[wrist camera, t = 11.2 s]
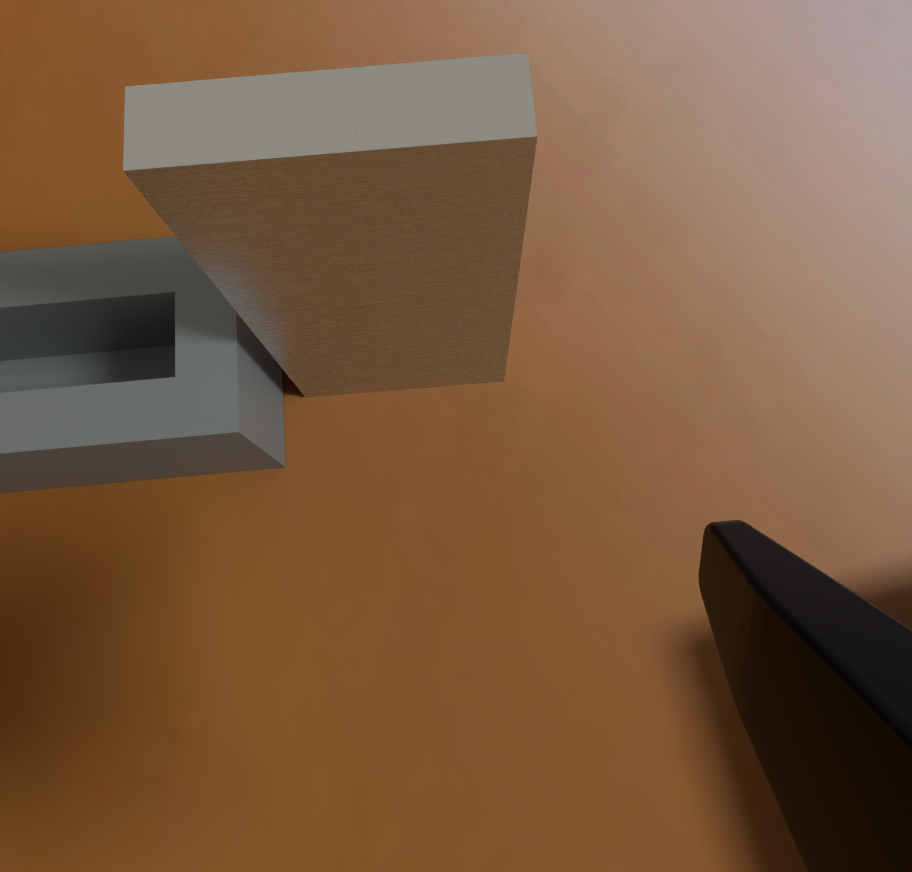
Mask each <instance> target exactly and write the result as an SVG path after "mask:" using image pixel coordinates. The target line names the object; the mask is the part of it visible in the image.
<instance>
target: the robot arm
mask: <svg viewBox="0 0 912 872" xmlns="http://www.w3.org/2000/svg"><path fill="white" fill-rule="evenodd" d="M699 586H700V591H701V595H702V599H703V602H704V605H705V608H706V612H707V615H708V618H709V622H710V625H711V628H712V631H713V635H714V638H715V641H716V644H717V648H718V651H719V654H720V658H721V661H722V664H723V667H724V671H725V674H726V677H727V681H728V684H729V687H730V690H731V693H732V696H733V699H734V702H735V705H736V708H737V710H738V713H739V715H740V718H741V720H742V723H743V725H744V728H745V730H746V732H747V734H748V737H749V739H750V741H751V744H752V746H753V748H754V750H755V753H756V755H757V757H758V760H759V762H760V764H761V767H762V769H763V771H764V773H765V776H766V778H767V780H768V783H769V785H770V787H771V789H772V792H773V794H774V796H775V799H776V801H777V803H778V805H779V808H780V810H781V812H782V815H783V817H784V819H785V821H786V824H787V826H788V828H789V831H790V833H791V835H792V838H793V840H794V842H795V844H796V847H797V849H798V851H799V854H800V856H801V858H802V860H803V863H804V865H805V867H806V870H807V872H912V629H910V628H909V627H907V626H906V625H904V624H902V623H901V622H899V621H898V620H896V619H895V618H893V617H892V616H890V615H888V614H887V613H885V612H884V611H882V610H881V609H879V608H878V607H876V606H875V605H873V604H871V603H870V602H868V601H867V600H865V599H864V598H862V597H861V596H859V595H857V594H856V593H854V592H853V591H851V590H850V589H848V588H847V587H845V586H843V585H842V584H840V583H839V582H837V581H836V580H834V579H833V578H831V577H829V576H828V575H826V574H825V573H823V572H822V571H820V570H819V569H817V568H816V567H814V566H812V565H811V564H809V563H808V562H806V561H805V560H803V559H802V558H800V557H798V556H797V555H795V554H794V553H792V552H791V551H789V550H788V549H786V548H784V547H783V546H781V545H780V544H778V543H777V542H775V541H774V540H772V539H770V538H769V537H767V536H766V535H764V534H763V533H761V532H760V531H758V530H757V529H755V528H753V527H752V526H750V525H749V524H747V523H745V522H743V521H740V520H732V521H721V522H712V523H710V524H708V525H707V526H706V528H705V530H704V535H703V543H702V551H701V559H700V568H699Z"/></svg>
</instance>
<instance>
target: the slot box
mask: <svg viewBox="0 0 912 872" xmlns="http://www.w3.org/2000/svg"><path fill="white" fill-rule="evenodd" d="M280 467H285V441H284V413H283V386H282V368H281V367H280V365H279V364H278V363H277V362H276V360H275V359H274V358H273V357H272V355H271V354H270V353H269V352H268V350H267V349H266V348H265V347H264V345H263V344H262V343H261V342H260V340H259V339H258V338H257V337H256V335H255V334H254V333H253V332H252V330H251V329H250V328H249V327H248V325H247V324H246V323H245V322H244V320H243V319H242V318H241V317H240V316H239V314H238V313H237V312H236V311H235V309H234V308H233V307H232V306H231V304H230V303H229V302H228V301H227V299H226V298H225V297H224V296H223V294H222V293H221V292H220V291H219V289H218V288H217V287H216V286H215V284H214V283H213V282H212V281H211V279H210V278H209V277H208V276H207V274H206V273H205V272H204V271H203V269H202V268H201V267H200V266H199V264H198V263H197V262H196V261H195V259H194V258H193V257H192V256H191V254H190V253H189V252H188V251H187V250H186V248H185V247H184V246H183V245H182V243H181V242H180V241H179V240H178V238H177V237H176V236H174V237H163V238H152V239H141V240H130V241H119V242H108V243H97V244H86V245H75V246H64V247H53V248H42V249H31V250H20V251H9V252H0V493H2V492H13V491H24V490H35V489H47V488H58V487H69V486H80V485H91V484H102V483H113V482H124V481H135V480H147V479H158V478H169V477H180V476H191V475H202V474H213V473H224V472H235V471H247V470H258V469H269V468H280Z"/></svg>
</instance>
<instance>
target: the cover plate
mask: <svg viewBox="0 0 912 872" xmlns="http://www.w3.org/2000/svg"><path fill="white" fill-rule="evenodd" d="M536 142H537V130H536V121H535V112H534V104H533V95H532V86H531V78H530V69H529V60H528V53H521V54H509V55H497V56H485V57H473V58H462V59H450V60H438V61H426V62H414V63H402V64H390V65H378V66H366V67H354V68H342V69H330V70H318V71H306V72H294V73H282V74H270V75H258V76H246V77H235V78H223V79H211V80H199V81H187V82H175V83H163V84H151V85H139V86H127V87H125V118H124V160H123V171H124V172H125V174H126V175H127V176H128V177H129V179H130V180H131V181H132V182H133V183H134V185H135V186H136V187H137V188H138V190H139V191H140V192H141V193H142V195H143V196H144V197H145V198H146V200H147V201H148V202H149V203H150V205H151V206H152V207H153V208H154V210H155V211H156V212H157V213H158V215H159V216H160V217H161V218H162V220H163V221H164V222H165V223H166V225H167V226H168V227H169V228H170V230H171V231H172V232H173V233H174V235H175V236H176V237H177V238H178V240H179V241H180V242H181V243H182V245H183V246H184V247H185V248H186V250H187V251H188V252H189V253H190V254H191V256H192V257H193V258H194V259H195V261H196V262H197V263H198V264H199V266H200V267H201V268H202V269H203V271H204V272H205V273H206V274H207V276H208V277H209V278H210V279H211V281H212V282H213V283H214V284H215V286H216V287H217V288H218V289H219V291H220V292H221V293H222V294H223V296H224V297H225V298H226V299H227V301H228V302H229V303H230V304H231V306H232V307H233V308H234V309H235V311H236V312H237V313H238V314H239V316H240V317H241V318H242V319H243V320H244V322H245V323H246V324H247V325H248V327H249V328H250V329H251V330H252V332H253V333H254V334H255V335H256V337H257V338H258V339H259V340H260V342H261V343H262V344H263V345H264V347H265V348H266V349H267V350H268V352H269V353H270V354H271V355H272V357H273V358H274V359H275V360H276V362H277V363H278V364H279V365H280V367H281V368H282V369H283V370H284V372H285V373H286V374H287V375H288V377H289V378H290V379H291V380H292V382H293V383H294V384H295V385H296V387H297V388H298V389H299V390H300V391H301V393H302V394H303V395H304V396H305V397H311V396H324V395H336V394H348V393H360V392H373V391H385V390H397V389H409V388H422V387H434V386H446V385H458V384H471V383H483V382H495V381H504V378H505V371H506V364H507V356H508V349H509V341H510V334H511V327H512V319H513V312H514V304H515V297H516V290H517V282H518V275H519V268H520V260H521V253H522V245H523V238H524V231H525V223H526V216H527V208H528V201H529V194H530V186H531V179H532V171H533V164H534V157H535V149H536Z"/></svg>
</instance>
